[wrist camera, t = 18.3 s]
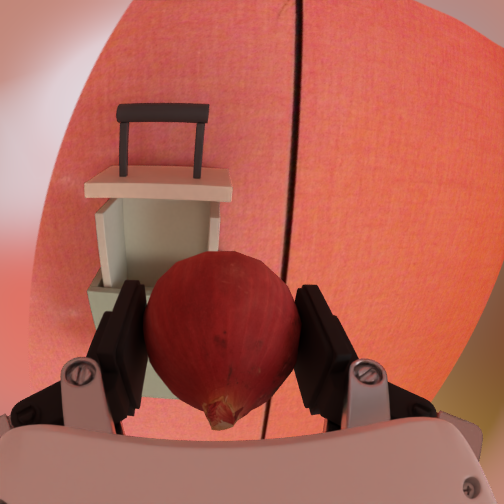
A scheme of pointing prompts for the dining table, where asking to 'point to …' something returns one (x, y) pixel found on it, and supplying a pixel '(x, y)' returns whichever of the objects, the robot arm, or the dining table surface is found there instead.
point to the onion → (222, 333)
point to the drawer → (156, 203)
